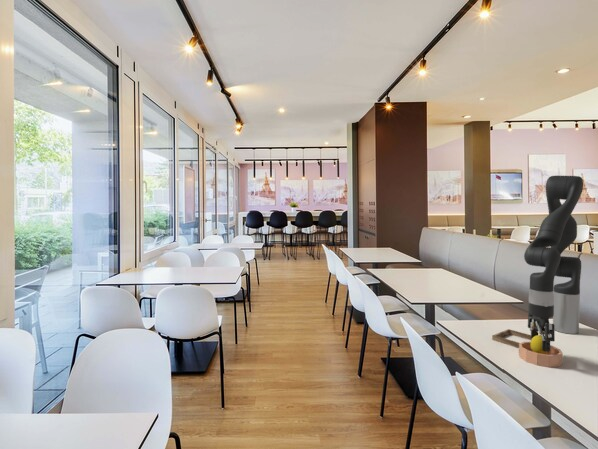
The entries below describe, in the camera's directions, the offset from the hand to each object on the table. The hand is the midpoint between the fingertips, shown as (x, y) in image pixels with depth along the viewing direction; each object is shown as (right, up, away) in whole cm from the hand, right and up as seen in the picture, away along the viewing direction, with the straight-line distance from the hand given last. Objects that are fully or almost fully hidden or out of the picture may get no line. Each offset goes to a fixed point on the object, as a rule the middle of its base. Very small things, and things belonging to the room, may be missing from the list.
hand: (540, 346), depth 124 cm
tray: (+3, -4, +17) cm, 18 cm away
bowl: (0, -5, 0) cm, 5 cm away
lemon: (0, -4, +1) cm, 4 cm away
